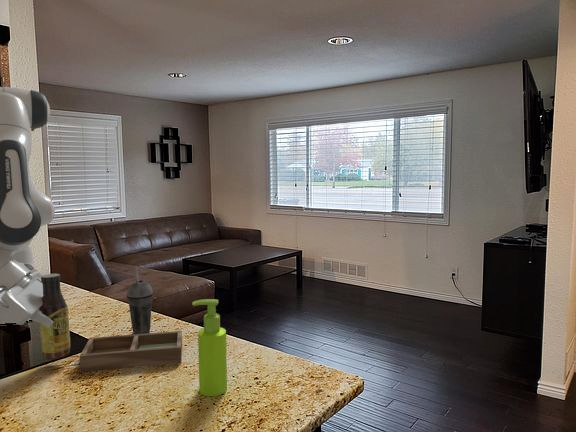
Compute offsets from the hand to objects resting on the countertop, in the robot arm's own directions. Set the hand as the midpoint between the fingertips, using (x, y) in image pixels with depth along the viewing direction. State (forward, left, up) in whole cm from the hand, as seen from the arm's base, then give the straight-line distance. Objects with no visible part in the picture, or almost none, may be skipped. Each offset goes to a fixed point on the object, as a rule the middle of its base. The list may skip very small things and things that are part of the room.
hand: (56, 318), depth 107 cm
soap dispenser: (+20, +35, -12) cm, 42 cm away
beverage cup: (-16, +17, -12) cm, 26 cm away
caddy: (0, +17, -11) cm, 21 cm away
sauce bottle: (0, 0, -9) cm, 9 cm away
